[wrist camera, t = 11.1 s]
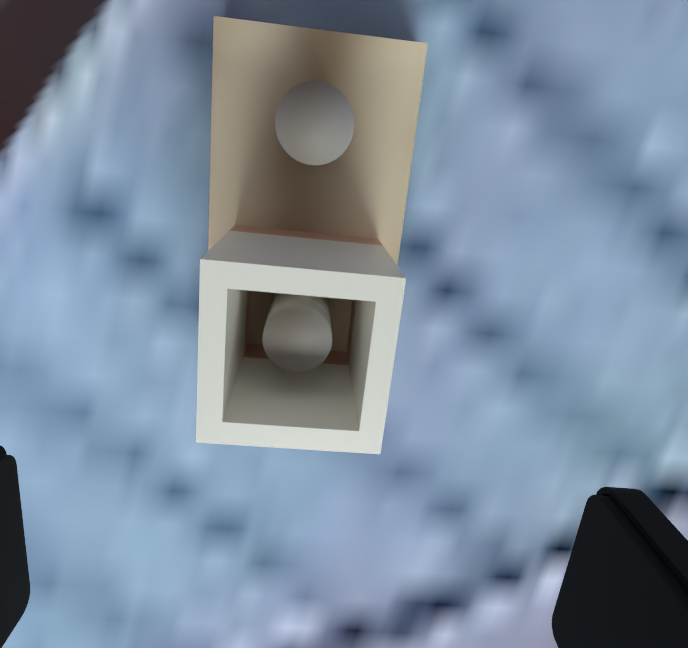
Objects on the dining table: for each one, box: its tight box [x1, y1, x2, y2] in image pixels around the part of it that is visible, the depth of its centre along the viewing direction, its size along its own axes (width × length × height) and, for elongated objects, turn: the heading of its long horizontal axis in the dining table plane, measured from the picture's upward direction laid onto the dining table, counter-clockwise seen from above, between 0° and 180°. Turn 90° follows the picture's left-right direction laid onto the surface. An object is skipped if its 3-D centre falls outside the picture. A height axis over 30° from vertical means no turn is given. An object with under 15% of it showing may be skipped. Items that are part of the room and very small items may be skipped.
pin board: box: [208, 16, 428, 372], centre depth 20 cm, size 8×14×7 cm, turn 174°
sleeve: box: [196, 225, 406, 454], centre depth 20 cm, size 6×6×7 cm
